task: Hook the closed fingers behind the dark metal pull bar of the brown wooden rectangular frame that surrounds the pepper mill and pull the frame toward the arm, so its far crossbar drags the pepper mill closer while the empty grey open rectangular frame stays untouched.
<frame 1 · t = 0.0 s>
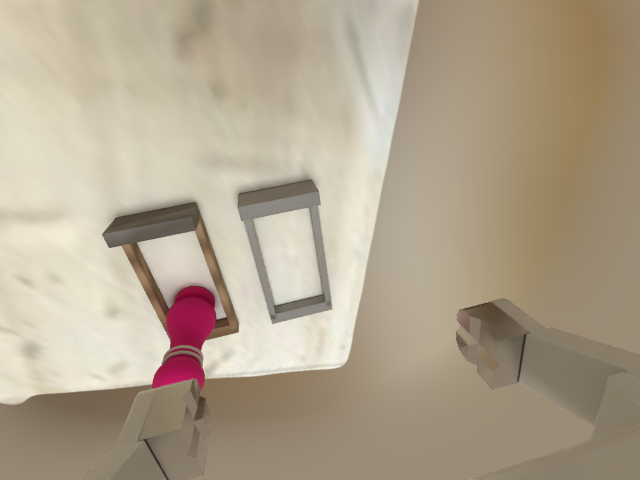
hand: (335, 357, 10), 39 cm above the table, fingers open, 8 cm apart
brown wooden rectangular frame: (182, 287, 49), point 3 cm above the table, slide at 0.0 cm
pepper mill: (195, 300, 54), resting in brown wooden rectangular frame
grey open rectangular frame: (291, 263, 51), point 3 cm above the table, slide at 0.0 cm
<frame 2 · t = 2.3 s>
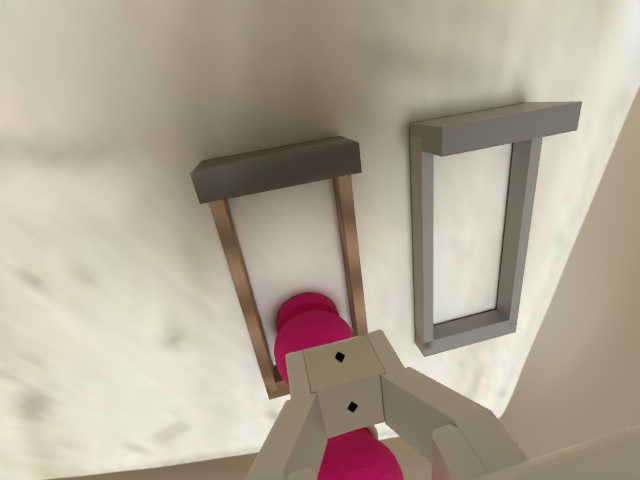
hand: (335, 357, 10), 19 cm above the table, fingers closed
brown wooden rectangular frame: (302, 291, 28), point 3 cm above the table, slide at 0.0 cm
pepper mill: (307, 317, 32), resting in brown wooden rectangular frame
grey open rectangular frame: (480, 249, 30), point 3 cm above the table, slide at 0.0 cm
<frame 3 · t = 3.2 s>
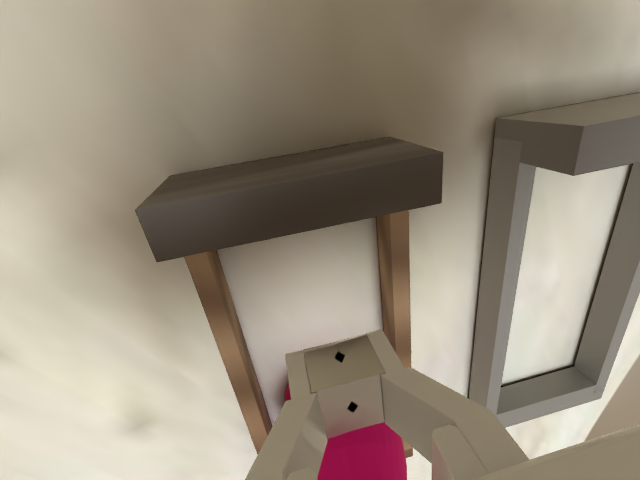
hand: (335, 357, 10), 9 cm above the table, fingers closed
brown wooden rectangular frame: (326, 369, 19), point 3 cm above the table, slide at 0.0 cm
pepper mill: (326, 387, 23), resting in brown wooden rectangular frame
grey open rectangular frame: (580, 302, 21), point 3 cm above the table, slide at 0.0 cm
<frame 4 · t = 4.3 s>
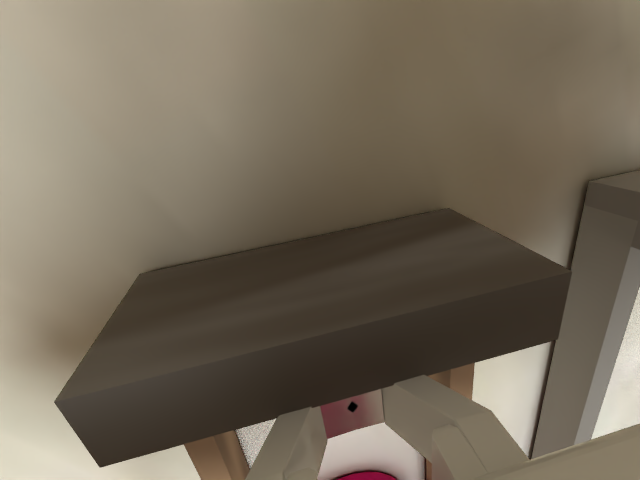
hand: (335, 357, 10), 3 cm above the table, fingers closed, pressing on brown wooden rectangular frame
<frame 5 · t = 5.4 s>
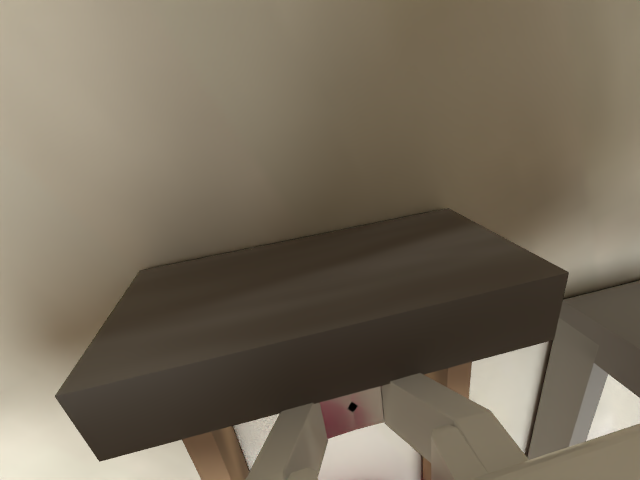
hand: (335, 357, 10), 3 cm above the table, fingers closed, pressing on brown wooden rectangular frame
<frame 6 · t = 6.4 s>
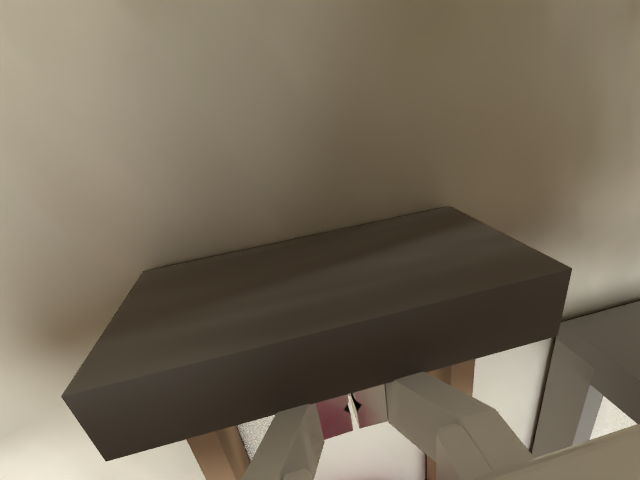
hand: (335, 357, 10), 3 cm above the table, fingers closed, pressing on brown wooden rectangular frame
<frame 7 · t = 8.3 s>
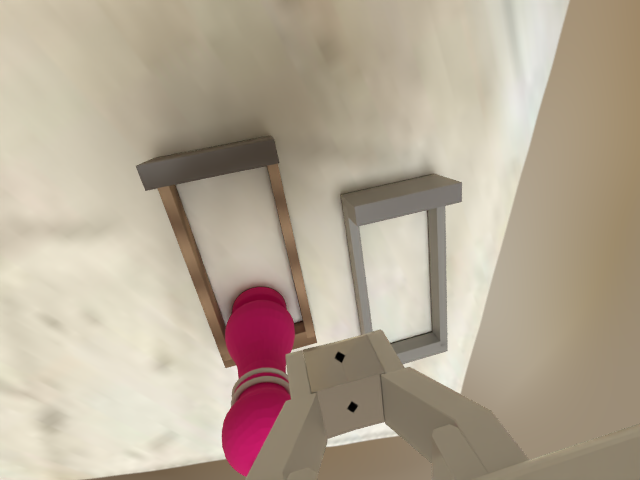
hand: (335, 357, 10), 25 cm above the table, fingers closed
brown wooden rectangular frame: (245, 268, 32), point 3 cm above the table, slide at 7.3 cm
pepper mill: (259, 308, 38), resting in brown wooden rectangular frame
grey open rectangular frame: (405, 287, 37), point 3 cm above the table, slide at 0.0 cm
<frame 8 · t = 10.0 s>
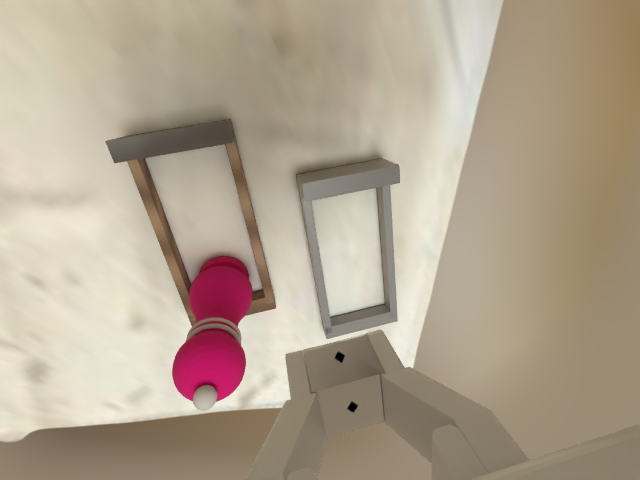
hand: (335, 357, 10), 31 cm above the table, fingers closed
brown wooden rectangular frame: (208, 237, 37), point 3 cm above the table, slide at 7.3 cm
pepper mill: (224, 276, 42), resting in brown wooden rectangular frame
grey open rectangular frame: (355, 260, 42), point 3 cm above the table, slide at 0.0 cm
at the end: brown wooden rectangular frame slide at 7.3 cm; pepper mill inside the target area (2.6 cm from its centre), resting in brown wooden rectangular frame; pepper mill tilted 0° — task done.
